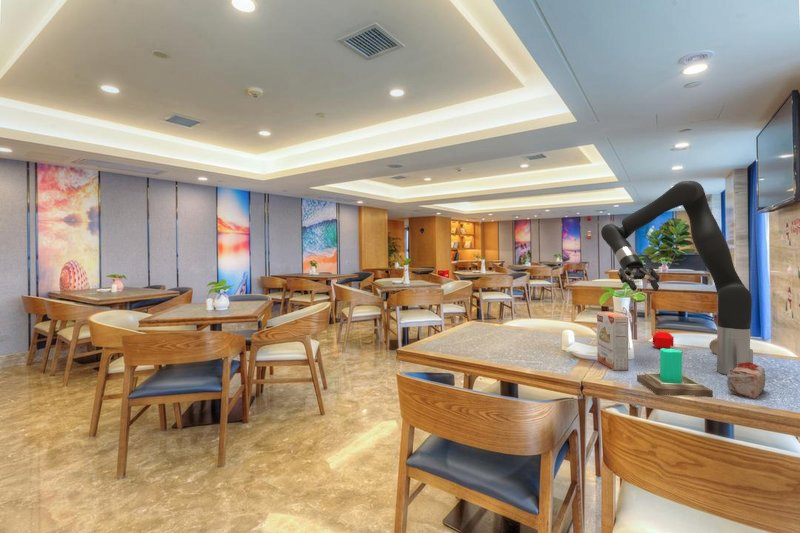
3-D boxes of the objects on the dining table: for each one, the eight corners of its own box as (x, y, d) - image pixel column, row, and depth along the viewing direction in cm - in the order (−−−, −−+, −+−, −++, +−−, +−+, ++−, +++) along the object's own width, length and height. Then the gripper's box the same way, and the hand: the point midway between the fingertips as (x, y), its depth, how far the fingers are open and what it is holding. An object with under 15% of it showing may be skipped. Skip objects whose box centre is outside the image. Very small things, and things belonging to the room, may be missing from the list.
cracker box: (596, 360, 162) (596, 311, 161) (610, 361, 162) (611, 311, 161) (612, 370, 148) (612, 316, 147) (628, 371, 148) (629, 316, 147)
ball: (653, 345, 188) (653, 330, 187) (673, 347, 183) (673, 331, 183) (652, 349, 181) (652, 332, 181) (673, 351, 176) (673, 334, 176)
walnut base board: (687, 382, 134) (687, 373, 134) (712, 396, 120) (712, 386, 120) (637, 380, 137) (637, 371, 137) (656, 394, 123) (656, 384, 123)
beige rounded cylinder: (707, 353, 172) (708, 336, 172) (715, 351, 176) (716, 334, 176) (737, 359, 163) (738, 341, 163) (745, 356, 167) (746, 338, 167)
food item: (759, 401, 117) (759, 369, 116) (725, 394, 123) (725, 363, 123) (766, 391, 125) (767, 360, 125) (734, 384, 132) (735, 356, 131)
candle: (685, 385, 125) (686, 348, 125) (664, 383, 127) (665, 347, 126) (676, 379, 131) (676, 344, 131) (656, 378, 132) (657, 343, 132)
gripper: (615, 253, 160) (632, 283, 149) (649, 253, 160) (668, 283, 149) (608, 266, 165) (623, 295, 154) (641, 265, 166) (659, 295, 154)
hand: (646, 289), depth 152 cm, fingers open, 8 cm apart
